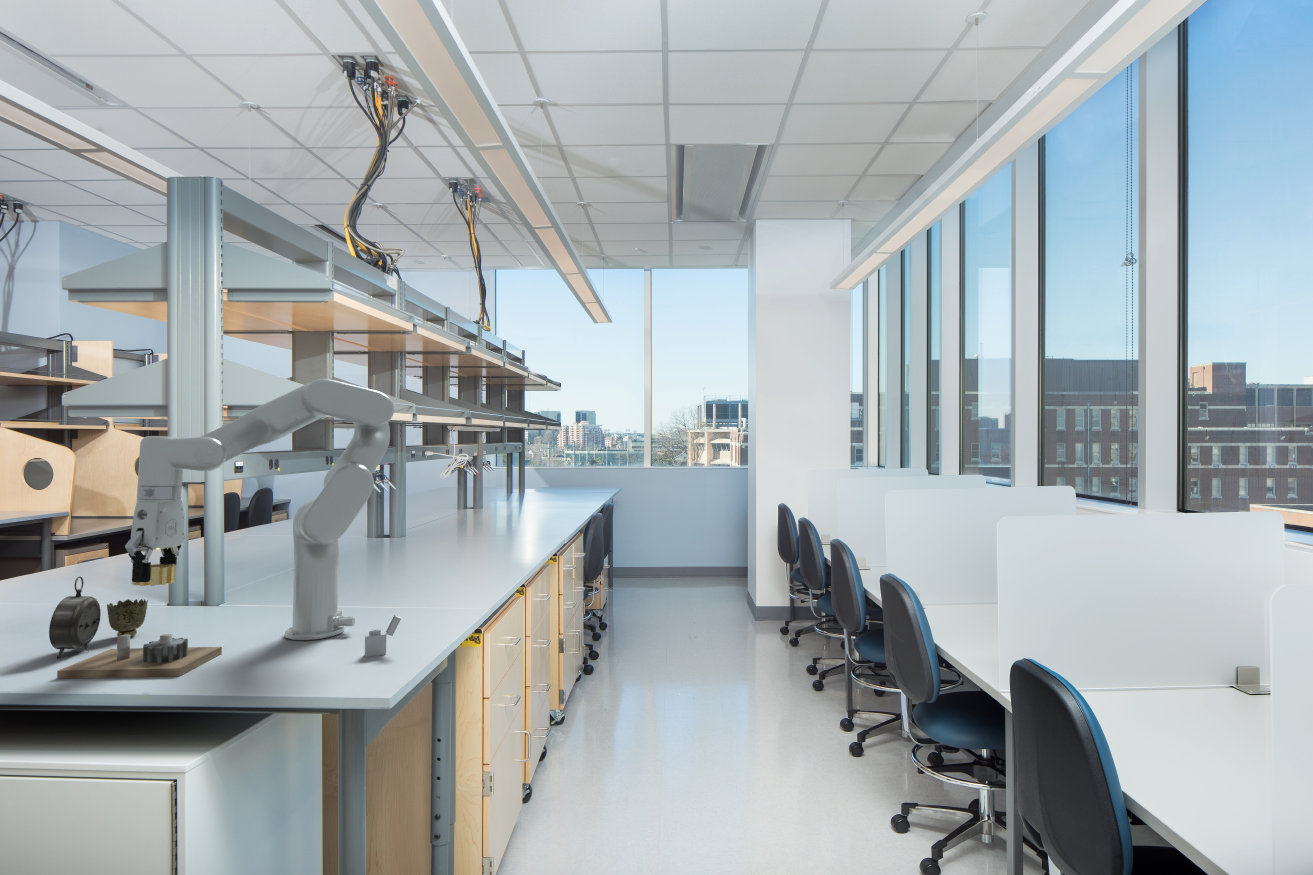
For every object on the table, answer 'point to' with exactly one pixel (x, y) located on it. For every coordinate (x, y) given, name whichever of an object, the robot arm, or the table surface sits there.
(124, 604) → the cup
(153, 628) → the table surface
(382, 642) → the lighter
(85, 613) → the alarm clock
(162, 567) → the brass gear
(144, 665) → the gear board
